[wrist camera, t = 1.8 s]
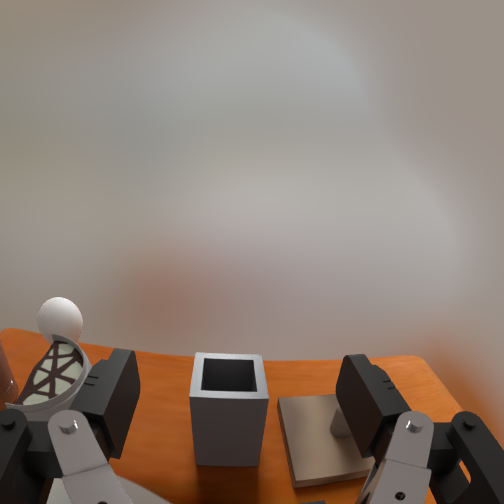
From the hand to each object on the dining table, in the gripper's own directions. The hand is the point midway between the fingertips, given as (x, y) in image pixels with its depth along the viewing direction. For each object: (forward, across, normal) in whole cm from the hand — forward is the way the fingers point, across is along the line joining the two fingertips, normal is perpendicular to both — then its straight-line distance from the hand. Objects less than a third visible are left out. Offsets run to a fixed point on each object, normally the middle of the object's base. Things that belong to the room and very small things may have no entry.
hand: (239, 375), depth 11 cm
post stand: (+11, -12, +19) cm, 25 cm away
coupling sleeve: (+11, 0, +19) cm, 22 cm away
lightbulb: (+20, +21, +19) cm, 35 cm away
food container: (+9, +15, +19) cm, 26 cm away
